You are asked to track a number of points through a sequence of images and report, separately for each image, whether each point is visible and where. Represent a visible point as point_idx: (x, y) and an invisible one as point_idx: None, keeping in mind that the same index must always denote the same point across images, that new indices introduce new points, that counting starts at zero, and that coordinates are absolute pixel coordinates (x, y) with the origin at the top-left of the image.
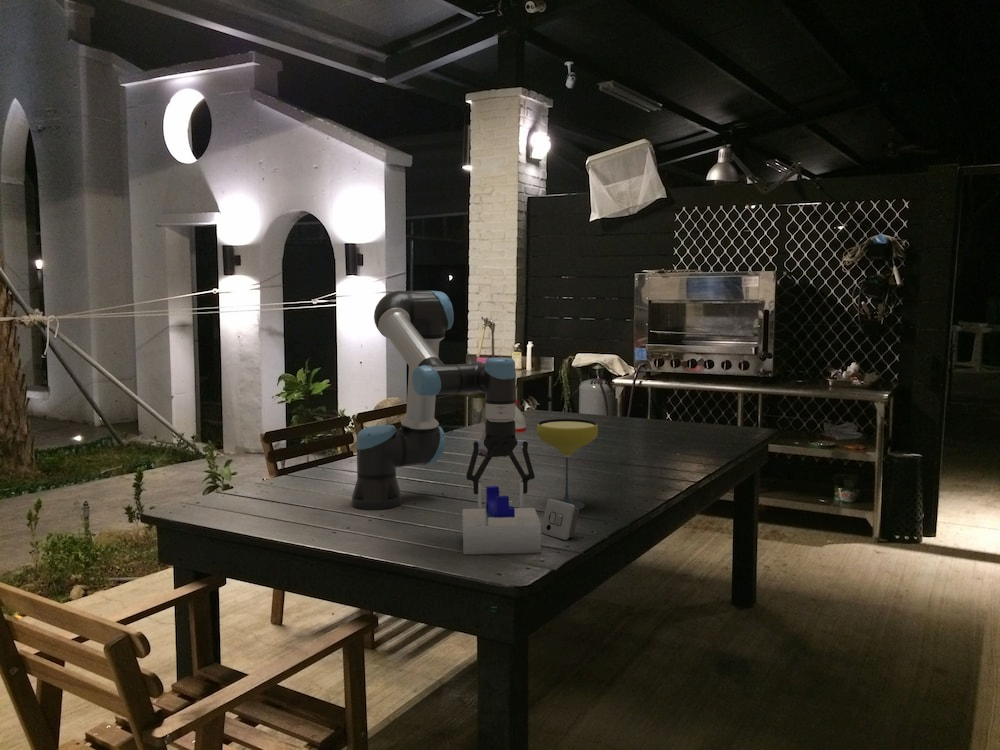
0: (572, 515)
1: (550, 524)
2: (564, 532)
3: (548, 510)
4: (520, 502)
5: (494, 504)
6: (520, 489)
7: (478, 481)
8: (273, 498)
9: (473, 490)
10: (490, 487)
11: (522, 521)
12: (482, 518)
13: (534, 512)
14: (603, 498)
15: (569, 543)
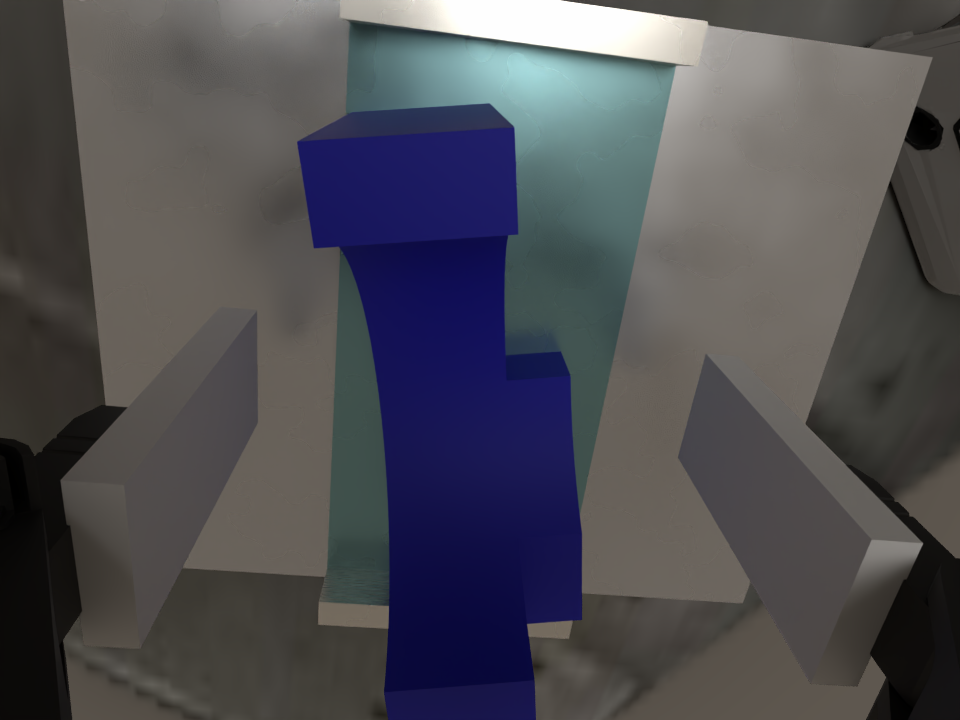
0: None
1: (950, 138)
2: None
3: None
4: (700, 487)
5: (425, 300)
6: (763, 599)
7: (80, 560)
8: None
9: (68, 425)
10: (368, 232)
11: (634, 504)
12: (295, 371)
13: (849, 246)
14: None
15: (924, 335)
